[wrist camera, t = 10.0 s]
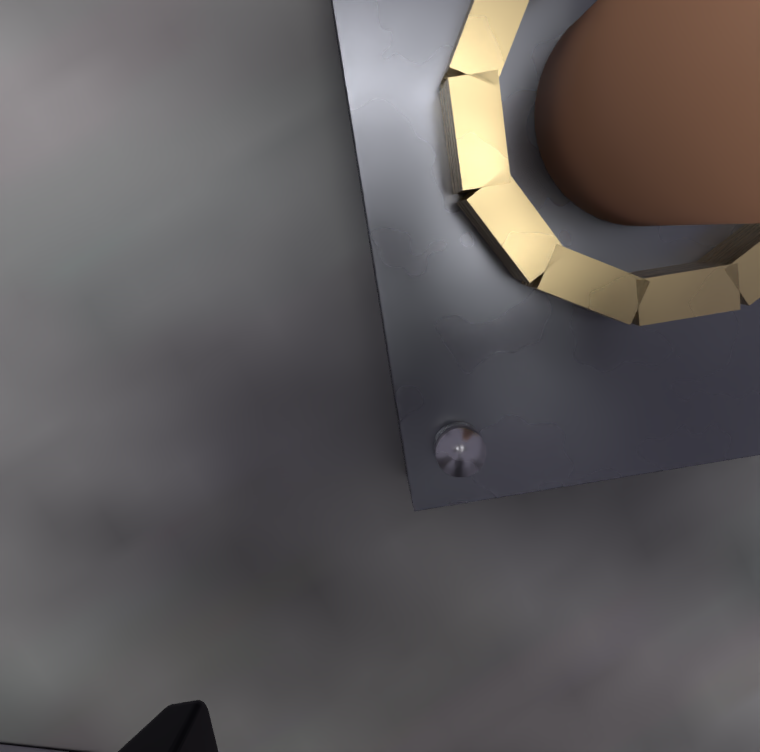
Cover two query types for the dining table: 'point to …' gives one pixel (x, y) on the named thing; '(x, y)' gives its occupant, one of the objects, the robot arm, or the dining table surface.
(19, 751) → the coffee box
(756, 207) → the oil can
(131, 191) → the dining table surface
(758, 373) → the gearbox housing
